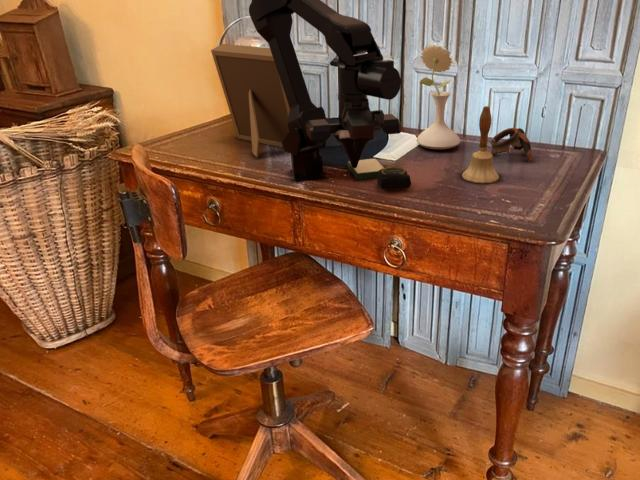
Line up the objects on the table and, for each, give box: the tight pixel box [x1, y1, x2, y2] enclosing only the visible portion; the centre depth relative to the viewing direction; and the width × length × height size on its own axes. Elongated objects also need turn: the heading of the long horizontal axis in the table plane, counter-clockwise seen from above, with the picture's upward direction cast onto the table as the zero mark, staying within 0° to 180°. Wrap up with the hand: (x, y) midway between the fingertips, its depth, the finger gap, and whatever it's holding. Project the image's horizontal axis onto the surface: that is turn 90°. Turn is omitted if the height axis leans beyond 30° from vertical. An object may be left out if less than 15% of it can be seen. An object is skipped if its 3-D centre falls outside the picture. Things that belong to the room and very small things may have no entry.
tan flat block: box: [346, 158, 384, 181], centre depth 134 cm, size 7×9×2 cm
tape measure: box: [376, 166, 412, 191], centre depth 125 cm, size 7×7×4 cm
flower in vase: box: [416, 44, 461, 151], centre depth 145 cm, size 13×11×25 cm
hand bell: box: [461, 105, 500, 184], centre depth 127 cm, size 8×8×16 cm
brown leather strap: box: [490, 127, 533, 162], centre depth 142 cm, size 12×10×8 cm
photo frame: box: [210, 43, 290, 158], centre depth 146 cm, size 15×22×25 cm
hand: (354, 167), depth 121 cm, fingers closed
